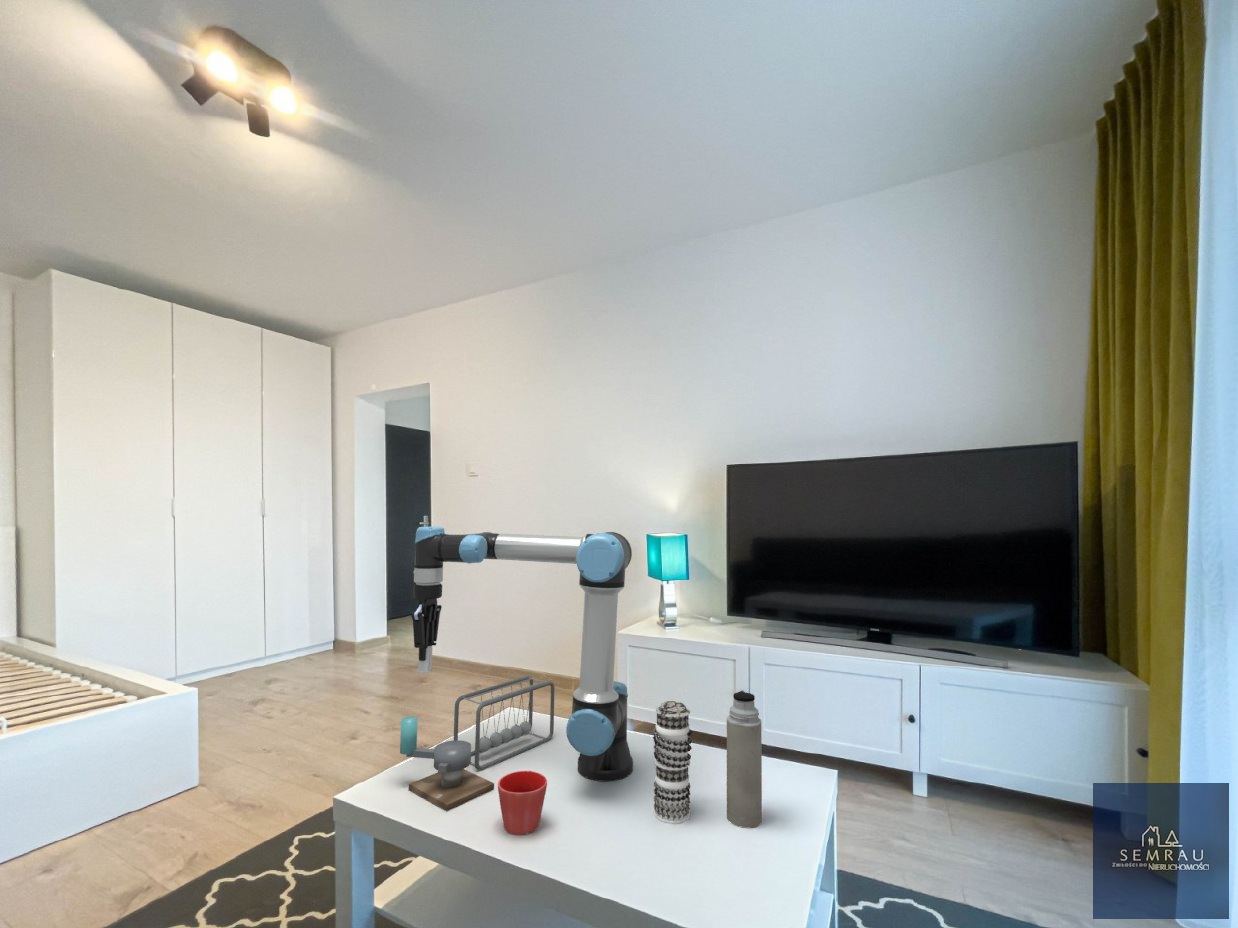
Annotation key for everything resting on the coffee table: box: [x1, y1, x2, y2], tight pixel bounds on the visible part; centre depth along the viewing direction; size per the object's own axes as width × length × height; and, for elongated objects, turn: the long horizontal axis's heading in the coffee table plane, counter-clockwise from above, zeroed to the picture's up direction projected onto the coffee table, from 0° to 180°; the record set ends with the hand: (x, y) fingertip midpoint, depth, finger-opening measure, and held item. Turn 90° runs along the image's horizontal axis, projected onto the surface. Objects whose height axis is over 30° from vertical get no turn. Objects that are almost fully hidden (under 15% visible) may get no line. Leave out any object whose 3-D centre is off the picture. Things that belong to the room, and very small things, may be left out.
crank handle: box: [399, 715, 472, 773], centre depth 148 cm, size 18×12×10 cm, turn 82°
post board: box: [408, 768, 495, 812], centre depth 147 cm, size 16×14×6 cm
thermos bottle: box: [726, 691, 763, 828], centre depth 136 cm, size 8×8×28 cm
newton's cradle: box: [453, 675, 556, 771], centre depth 171 cm, size 30×10×18 cm, turn 142°
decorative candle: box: [652, 700, 693, 825], centre depth 137 cm, size 9×9×25 cm
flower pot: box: [497, 770, 548, 836], centre depth 131 cm, size 11×11×10 cm
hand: (424, 671), depth 158 cm, fingers closed
